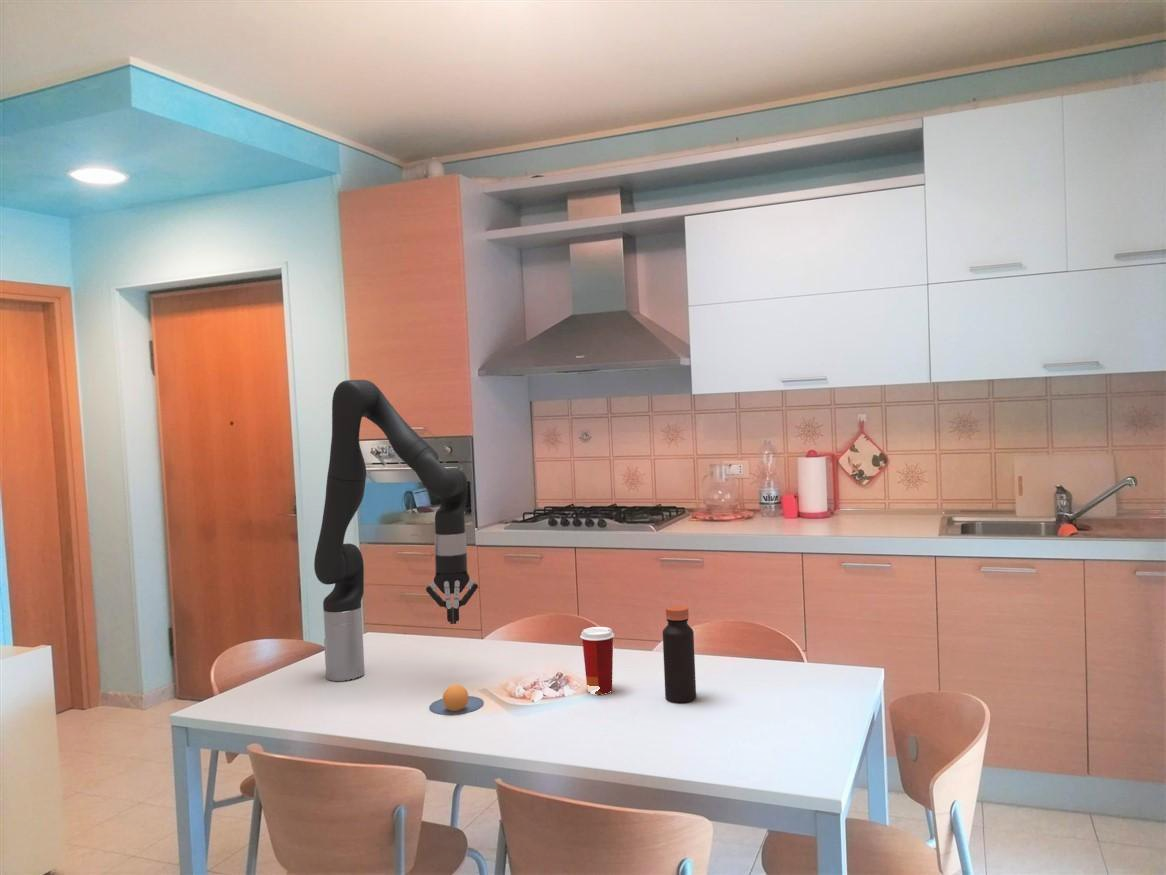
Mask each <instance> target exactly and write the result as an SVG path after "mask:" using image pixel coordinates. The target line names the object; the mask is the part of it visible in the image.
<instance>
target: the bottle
mask: <svg viewBox="0 0 1166 875" xmlns="http://www.w3.org/2000/svg"><path fill="white" fill-rule="evenodd" d="M665 616H666V617H665V618H666V622H667V625H666V626H665V627H664V628H663V629H662V646H663V647H662V650H663V674H664V675H663V676H664V692H665V693H664V696H665V697H664V698H665V699H666V700H667V701H668V702H671V703H674V704H686V703H687V704H688V703H690V702H693V701H695V700H696V698H697V686H696V685H697V683H696V682H697V681H696V667H695V666H696V665H695V663H696V659H695V656H696V655H695V636H694V628H692V627H691V626H690V625H689V624H688V621H689V607H687V606H684V605H670V606H668V607H666V608H665Z"/></svg>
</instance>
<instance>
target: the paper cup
mask: <svg viewBox="0 0 1166 875" xmlns="http://www.w3.org/2000/svg"><path fill="white" fill-rule="evenodd" d="M614 637H615V634H614V633H613V630H612V628H610V627H606V626H593V627H592V626H591V627H588V628H585V629H582V632H581V634H580V636H579V638H581V640H582V650H583V660H584V671H585V679H586V681H585V682H586V686H587V685H589V686H599V687H600V689H599V690H598V691H596V692H595V694H604V695H606V694H605V693H608V692H610V691H612V692H613V663H614V662H613V659H614V655H613V654H614ZM610 693H611V692H610ZM608 694H609V693H608Z"/></svg>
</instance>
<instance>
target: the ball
mask: <svg viewBox="0 0 1166 875" xmlns="http://www.w3.org/2000/svg"><path fill="white" fill-rule="evenodd" d="M469 696H470V695H469V693H468V690H467V689H466V688H465V687H464V686H462V685H459V684H453V685H450V686H448V687H447V688H446V689H445V691H444V692H443V695H442V699H443V703H444V706H445V707H446V708H447V709H448V710H450V711H454V712H456V711H460V710H462V709H463V708H465V706H466V705H467V703H468V699H469Z"/></svg>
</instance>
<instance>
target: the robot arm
mask: <svg viewBox="0 0 1166 875" xmlns="http://www.w3.org/2000/svg"><path fill="white" fill-rule="evenodd" d="M331 400H332V401H331V402H332V403H331V404H332V405H331V410H332V411H331V442H330V453H329V461H328V462H329V463H328V469H327V478H326V487H325V498H324V505H323V506H324V507H323V513H322V520H321V525H320V526H321V527H320V530H319V531H320V532H319V536H318V541H317V545H316V550H315V554H314V555H315V556H314V561H313V562H314V563H313V566H314V573H315V576H316V578H317V580H318V581H319V582H320V583H321V584H323V585H334V587H333V589H332V590H331V592H330V593H328V595H327V596H326V597H324V599H323V602H322V606H323V609H322V610H323V623H324V624H323V625H324V626H323V627H324V639H323V640H324V641H323V642H324V644H323V645H324V661H325V662H324V663H325V675H326V679H327V680H329V681H334V682H341V681H342V682H344V681H345V680H346V681H351V680H350V679H352V680H356V679H358V678H357V677H359V678H361V677H363V676H365V674H364V673H366V670H365V653H364V652H365V651H364V633H363V632H364V630H363V617H362V615H363V614H362V612H363V611H362V599H363V597H364V590H365V589H364V586H365V583H364V582H365V581H364V579H365V578H364V576H365V575H364V574H365V571H364V570H365V568H364V566H365V564H364V558H363V555H362V552H361V550H360V549H359V547H358V546H357V545H355V544H353V543H344V540H345V536H346V532H347V530H348V527H349V525H350V523H351V521H352V520H353V518H354V517H355V515H356V513H357V511H358V509H359V508H360V506H361V503H362V501H363V499H364V495H365V487H366V480H367V467H366V463H365V462H366V461H365V459H364V456H363V452H362V450H361V446H360V431H361V424H362V423H361V422H362V418H366V419H368V420H369V421H371V423H373V424H374V425H376V426H377V427H378V428H379V429H380V430H381V431H382V432H383V434H384V435H385V437H386V438H387V440H388V442H389V445H390V446H391V448H392V449H393V451H394V453H395V454H396V455H397V456H398V458H400V459H401V461H403V462H404V464H406V465H407V466H408V467H409V468H410V469H411V470H412V471H413V472H414V473H416V475H417V477H418V479H419V481H420V482H422V485H424V487H425V489H426V490H428V492H429V493H430V494H431V495H432V496H434V497H436V498H438V499H440V506H439V508H438V509H437V510H436V512H435V516H434V531H435V534H434V535H435V536H434V537H435V538H434V561H435V562H434V564H435V576H433V581H432V582H431V583H430V584H427V585H426V587H425V592H427V594H428V595H429V596H430V597H431V598H432V599H433V600H434V602H435V603H436V604H437V605H438V606H439V607H440V608H445V609H446V620H447V622H448V623H450V625H456V624H457V622H459V620H460V608H461V607H463V606H465V605H467V603H468V602H469V600H470V599H471V597H472V596H474V593H476V591H477V589H478V588H479V585H478V582H474V581H473V580H472V579H470V575H469V573H468V557H467V556H468V552H467V551H468V548H467V539H466V538H467V536H466V524H465V512H466V505H467V502H468V501H467V500H468V494H469V483H468V479H467V476H466V474H465V472H464V471H462V469H460V468H456V467H450V468H446V467H445V466H444V465H443V464H441V461H439V453H437V450H435V449H434V448H433V447H432V446H431V445H429V443H427V441H425V440H424V439H423V437H422V436H420V435H419V434H418V433H417V432H416V431H415V430H414V429H413V428H412V427H411V426H410V425H409V424H408V423H407V422H406V421H405V419H404V418H403V417H402V416H401V415H400V414H399V413H398V411H397V409H396V408H394V406H393V405H392V404H391V403H390V401H389V400H388V399H387V397H386V396H385V394H384V393H383V392H382V391H381V390H380V388H379V387H378V386H377V384H375V383H374V382H372V381H370V380H367V379H348V380H343V381H341V382H340V383H338V385H337V386H336V387H335V389H334V392H333V396H332V399H331ZM467 584H468V585H467ZM466 586H467V591H466V593H465V594H464V595H463V596H462V598H461V599H460V594H461V593H462V592H463V591H464V589H465V588H466ZM437 588H438V589H439V591H440V592H441V593H442V594H444V595H445V600H444V599H443V598H442V597H441V596H440V594H438V593H437ZM451 595H453V603H452V597H451ZM362 675H363V676H362ZM360 676H361V677H360ZM355 678H356V679H355Z"/></svg>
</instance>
